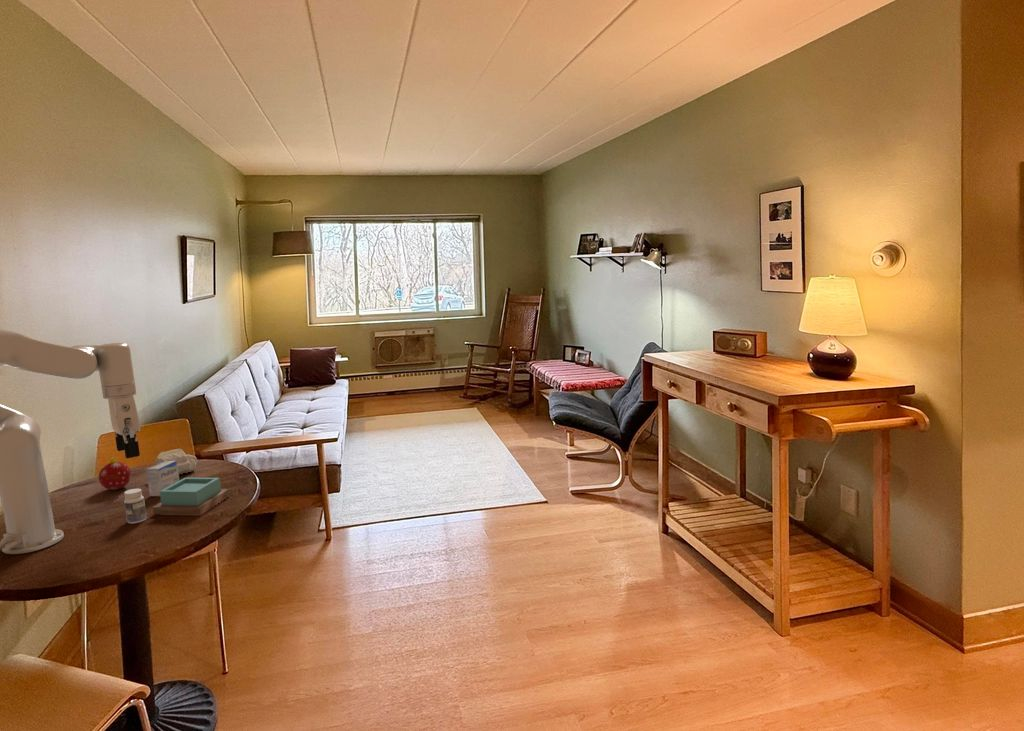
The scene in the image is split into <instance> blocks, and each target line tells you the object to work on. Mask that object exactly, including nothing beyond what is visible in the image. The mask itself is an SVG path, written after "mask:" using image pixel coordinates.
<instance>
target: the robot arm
mask: <svg viewBox="0 0 1024 731" xmlns="http://www.w3.org/2000/svg"><path fill="white" fill-rule="evenodd" d="M0 367H6V368H10V369H14V370H22V371H28V372H32V373H37V374H42V375H47V376H54V377H61V378H67V379H79V380H80V379H85V378H88V377H90V376H92V375H93V374H94V373H95V372H97V371H98V372H99V379H100V385H101V393H102V399H106V400H107V401H108V402H107V403H108V407H109V408H108V409H109V416H110V422H111V426H112V430H113V431H114V435H115V444H116V450H117V451H118V452H123V451H124V456H125V458H126V459H132V458H137V457H139V456H140V455H141V454H140V448H139V447H140V446H139V441H138V437H137V434H136V433H140V432H141V425H140V420H139V415H138V409H137V404H136V401H135V397H134V396H135V395H137V389H136V382H135V380H136V379H135V375H134V369H133V367H134V366H133V361H132V353H131V348H130V346H129V345H128V344H127V343H126V342H125V343H124V342H114V343H113V342H111V343H104V344H99V345H86V344H85V345H84V344H83V345H82V344H78V345H73V346H66V345H59V344H56V343H49V342H44V341H41V340H37V339H34V338H31V337H28V336H26V335H24V334H22V333H19V332H16V331H11V330H5V329H0ZM41 435H42V434H41V427H40V425H39V424H38V422H37V421H36V420H35V419H34V418H32V417H30V416H29V415H26V414H24V413H22V412H20V411H18V410H15V409H12V408H10V407H8V406H5V405H2V404H1V403H0V501H1V502H0V503H1V508H2V512H3V518H4V524H5V529H6V533H3V534H2V535H3V538H2V539H1V541H0V551H2V552H3V553H4V554H7V555H21V554H28V553H32V552H36V551H39V550H42V549H45V548H49V547H51V546H53V545H55V544H57V543H58V542H59V543H60V541H61V540H63V538H64V537H65V534H64V531H63V530H62V529H59V528H56V527H55V526H56V525H55V522H54V514H53V508H52V504H51V499H50V493H49V487H48V482H47V481H48V479H47V475H46V470H45V465H44V460H43V456H42V448H41V442H40V441H41Z"/></svg>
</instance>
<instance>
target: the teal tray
mask: <svg viewBox="0 0 1024 731" xmlns="http://www.w3.org/2000/svg"><path fill="white" fill-rule="evenodd" d="M221 489H222V486H221V478H220V477H184V478H182V479H179V481H178V482H176V483H174V484H172V485H170V486H169V487H167V488H165V489H163V490H161V491H160V496H159V498H160V503H161V504H162V505H190V506H198V505H200V504H201V503H203V502H204V501H206V500H208V499H209V498H211V497H212V496H214V495H216V494H217V493H219V492H220V491H221Z"/></svg>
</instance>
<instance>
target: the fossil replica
mask: <svg viewBox="0 0 1024 731" xmlns="http://www.w3.org/2000/svg"><path fill="white" fill-rule="evenodd" d="M164 461H177V467H178V474H179V476H180V474H181V475H184V474H183V473H187V474H189V473H188V472H190V473H191V472H193V471H194V470H195V469H196V467H197V463H198V459H197V457H196V456H195V455H191V454H186V452H184V450H183V449H181V448H176V449H170V450H166V451H161V452H160V453H159V454H158V455H157V456H156V457H155V460H154V464H155V465H157V464H160V463H162V462H164ZM155 465H154V466H155Z"/></svg>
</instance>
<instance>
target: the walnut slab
mask: <svg viewBox="0 0 1024 731" xmlns="http://www.w3.org/2000/svg"><path fill="white" fill-rule="evenodd" d="M229 496H231V495H230V489H229V488H221V491H220V492H219V493H217V494H216V495H214V496H212V497H211V498H209V499H208V500H206V501H204V502H203V503H201V504H200V505H198V506H190V505H162V504H161V502H159V503H157V504H156V505H154V506H152V510H153V515H154V514H158V515H157V516H199V517H200V516H202V515H204V514H205V513H207V512H208V511H210V510H211V509H213V508H215V507H216V506H217V505H219V504H220V503H222V502H223V500H224V499H225V500H227V499H228V498H230V497H229ZM227 497H228V498H227ZM226 498H227V499H226ZM225 500H224V501H225ZM221 501H222V502H221ZM218 503H219V504H218ZM215 505H216V506H215ZM159 514H160V515H159Z"/></svg>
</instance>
